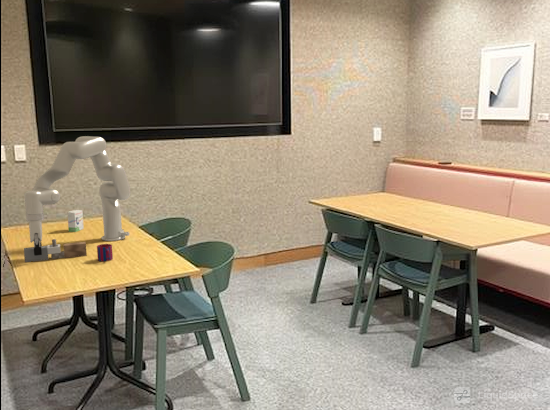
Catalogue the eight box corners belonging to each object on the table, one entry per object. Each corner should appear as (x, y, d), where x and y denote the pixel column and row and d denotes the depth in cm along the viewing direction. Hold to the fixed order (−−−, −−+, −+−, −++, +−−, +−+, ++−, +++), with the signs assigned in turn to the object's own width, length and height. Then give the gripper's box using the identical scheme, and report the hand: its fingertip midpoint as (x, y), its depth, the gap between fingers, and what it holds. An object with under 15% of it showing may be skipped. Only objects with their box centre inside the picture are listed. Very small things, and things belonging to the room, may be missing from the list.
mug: (111, 257, 251) (110, 243, 250) (114, 262, 242) (113, 247, 241) (97, 258, 248) (96, 244, 247) (99, 264, 239) (98, 249, 238)
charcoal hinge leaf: (24, 262, 243) (23, 250, 242) (25, 259, 248) (24, 247, 247) (61, 259, 249) (60, 246, 248) (60, 256, 254) (59, 244, 253)
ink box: (76, 228, 316) (74, 209, 314) (84, 229, 315) (82, 209, 313) (68, 231, 308) (66, 212, 306) (76, 232, 306) (74, 212, 304)
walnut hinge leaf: (86, 253, 258) (84, 235, 256) (86, 255, 254) (85, 237, 252) (51, 257, 251) (49, 239, 250) (51, 259, 248) (49, 240, 246)
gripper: (26, 214, 250) (30, 249, 253) (25, 221, 235) (28, 258, 238) (43, 213, 253) (46, 247, 256) (43, 219, 238) (46, 256, 241)
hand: (38, 252), depth 247 cm, fingers open, 9 cm apart
